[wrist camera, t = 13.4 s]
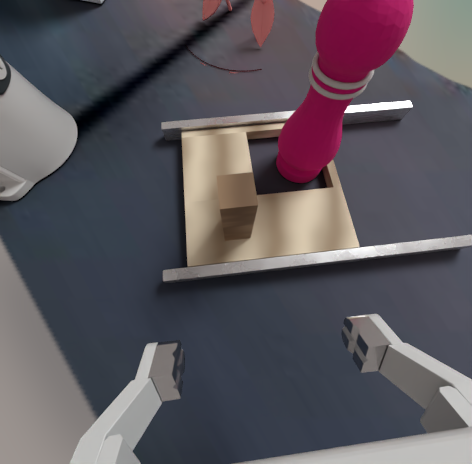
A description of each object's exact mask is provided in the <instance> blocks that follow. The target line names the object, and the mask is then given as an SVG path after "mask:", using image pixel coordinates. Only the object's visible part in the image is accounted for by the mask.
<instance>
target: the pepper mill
mask: <svg viewBox="0 0 472 464" xmlns="http://www.w3.org/2000/svg"><path fill="white" fill-rule="evenodd" d="M413 6H414V5H413V0H327V2H326V4H325V5H324V7H323V10H322V12H321V15H320V18H319V20H318V24H317V28H316V47H317V51H318V52H317V53H316V54H315V56H314V58H313V62H312V66H311V68H310V71H309V80H310V83H311V86H310V89H309V92H308V94H307V97H306V98H305V100H304V102H303V103H302V104H301V105H300V107H299V108H298V109H297V110H296V111H295V112H294V113H293V114H292V115H291V116H290V117H289V118H288V120H287V121H286V123H285V124H284V126H283V128H282V130H281V133H280V135H279V139H278V148H279V152H278V156H277V160H276V165H277V168H278V171H279V172H280V174H281V175H282V176H283V177H284V178H286V179H287V180H289V181H292V182H295V183H306V182H309V181H311V180H313V179H314V178H316V177H317V175H318V174H319V172H320V171H321V169H322V168H323V167H325V166H326V165H327V164H329V163H330V162H331V161H332V160H333V158H334V157H335V155H336V153H337V151H338V149H339V146H340V143H341V138H342V121H343V116H344V113H345V111H346V109H347V107H348V105H349V103H350V102H351V101H352V99H353V98H354V97H356V96H358V95H360V94H361V93H362V92H363V91H364V89H365V88H366V86H367V83H368V82H369V81H370V80H371V78H372V76H373V74H374V69H376V68H378V67H380V66H381V65H383V64H384V63H385V62H386V61H387V60H389V59H390V58H391V57H392V55H393V54H394V53H395V51H396V50H397V49H398V47H399V46H400V44H401V43H402V41H403V39H404V37H405V35H406V33H407V30H408V28H409V25H410V23H411V19H412V14H413Z"/></svg>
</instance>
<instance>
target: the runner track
mask: <svg viewBox="0 0 472 464" xmlns="http://www.w3.org/2000/svg"><path fill="white" fill-rule="evenodd" d="M412 108H413V106H412V104H411V102H410V101H401V102H389V103H378V104H366V105H355V106H348V107H347V109H346V111H345V113H344V116H343V121H342V125H345V124H356V123H367V122H378V121H389V120H400V119H403V117H404V116H405V115H406V114H407V113H408V112H409V111H410V110H411V109H412ZM294 112H295V111H286V112H275V113H263V114H252V115H240V116H229V117H218V118H206V119H195V120H183V121H172V122H162V131H163V134H164V136H165V138H166V141H169V140H180V139H182V132H187V131H199V130H210V129H221V128H232V127H243V126H254V125H266V124H277V123H286V121H287V120H288V118H289V117H290V116H291V115H292V114H293V113H294ZM471 246H472V235H466V236H457V237H448V238H440V239H431V240H422V241H413V242H405V243H396V244H387V245H379V246H370V247H361V248H352V249H344V250H335V251H326V252H317V253H309V254H300V255H291V256H283V257H274V258H265V259H256V260H248V261H239V262H230V263H221V264H213V265H204V266H195V267H187V268H178V269H169V270H163V282H167V283H174V282H183V281H191V280H200V279H208V278H217V277H225V276H234V275H242V274H251V273H260V272H268V271H277V270H285V269H294V268H302V267H311V266H319V265H328V264H336V263H345V262H354V261H362V260H371V259H379V258H388V257H396V256H405V255H413V254H422V253H430V252H439V251H447V250H456V249H463V248H467V247H471Z"/></svg>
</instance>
